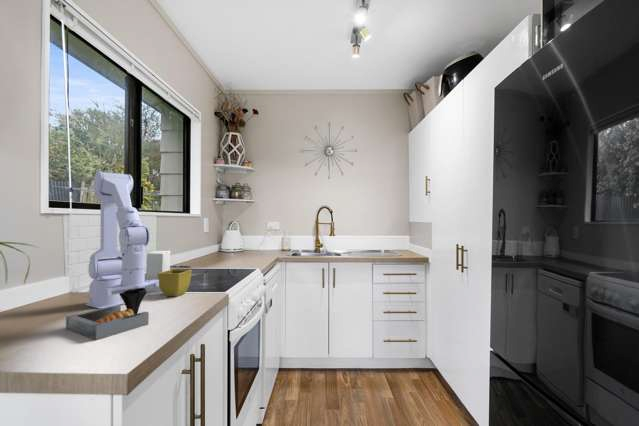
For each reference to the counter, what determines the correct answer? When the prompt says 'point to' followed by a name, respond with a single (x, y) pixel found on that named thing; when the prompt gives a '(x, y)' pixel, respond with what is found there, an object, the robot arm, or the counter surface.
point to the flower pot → (174, 282)
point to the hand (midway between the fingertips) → (132, 316)
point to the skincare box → (156, 266)
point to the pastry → (115, 316)
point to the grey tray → (94, 330)
